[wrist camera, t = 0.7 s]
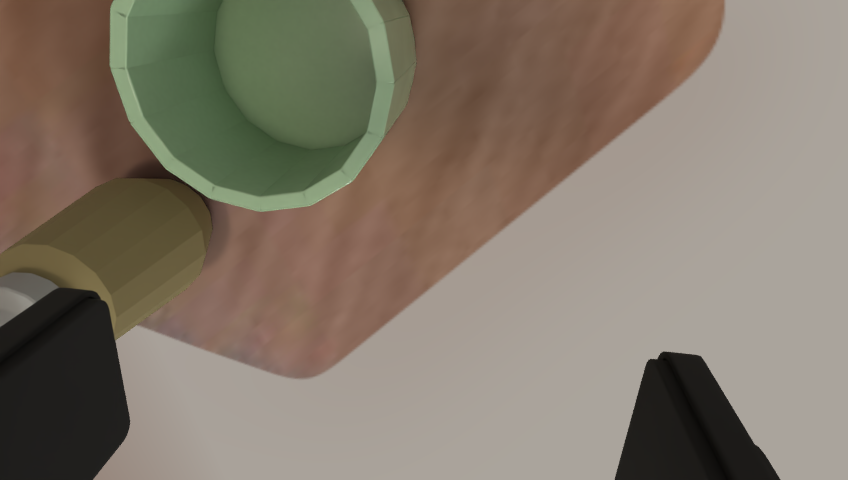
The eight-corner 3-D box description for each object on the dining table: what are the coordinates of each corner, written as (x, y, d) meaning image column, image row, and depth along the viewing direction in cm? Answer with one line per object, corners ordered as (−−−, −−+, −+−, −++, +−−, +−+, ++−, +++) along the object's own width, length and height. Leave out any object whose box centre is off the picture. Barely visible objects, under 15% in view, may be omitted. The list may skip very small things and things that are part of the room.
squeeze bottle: (205, 150, 36) (-24, 278, 20) (245, 263, 39) (75, 454, 23) (95, 172, 38) (-206, 308, 21) (142, 279, 41) (-90, 470, 24)
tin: (177, -44, 32) (64, -59, 23) (395, -87, 30) (360, -120, 21) (239, 170, 37) (164, 223, 28) (430, 145, 35) (413, 194, 26)
